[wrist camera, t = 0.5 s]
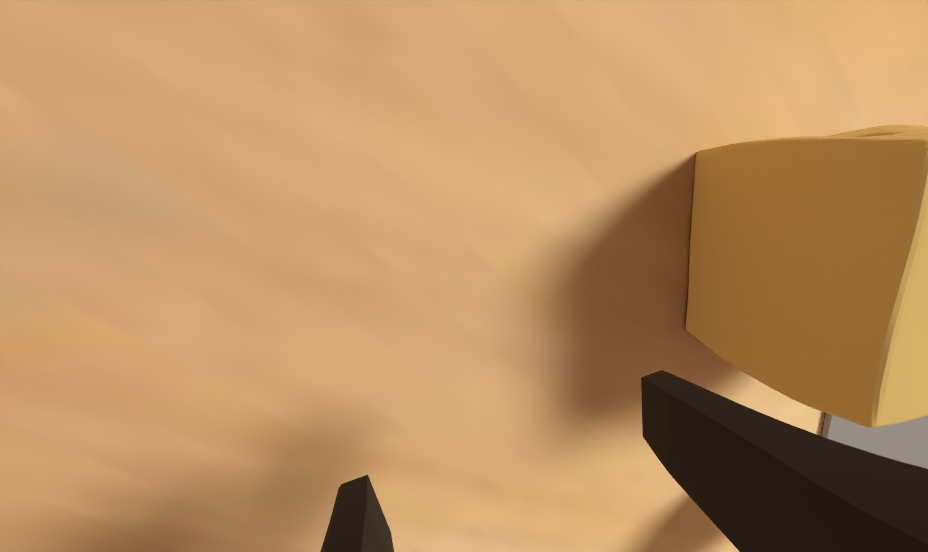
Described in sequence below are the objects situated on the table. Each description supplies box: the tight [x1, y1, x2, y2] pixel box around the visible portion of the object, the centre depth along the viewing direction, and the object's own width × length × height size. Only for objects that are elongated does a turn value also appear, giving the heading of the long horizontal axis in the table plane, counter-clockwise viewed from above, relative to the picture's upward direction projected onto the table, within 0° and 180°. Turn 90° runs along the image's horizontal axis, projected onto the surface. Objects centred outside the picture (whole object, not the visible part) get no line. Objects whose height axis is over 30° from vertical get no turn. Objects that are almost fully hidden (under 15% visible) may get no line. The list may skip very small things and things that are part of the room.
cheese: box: [685, 125, 928, 428], centre depth 19 cm, size 10×11×10 cm
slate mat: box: [821, 413, 928, 469], centre depth 30 cm, size 22×14×1 cm, turn 2°
